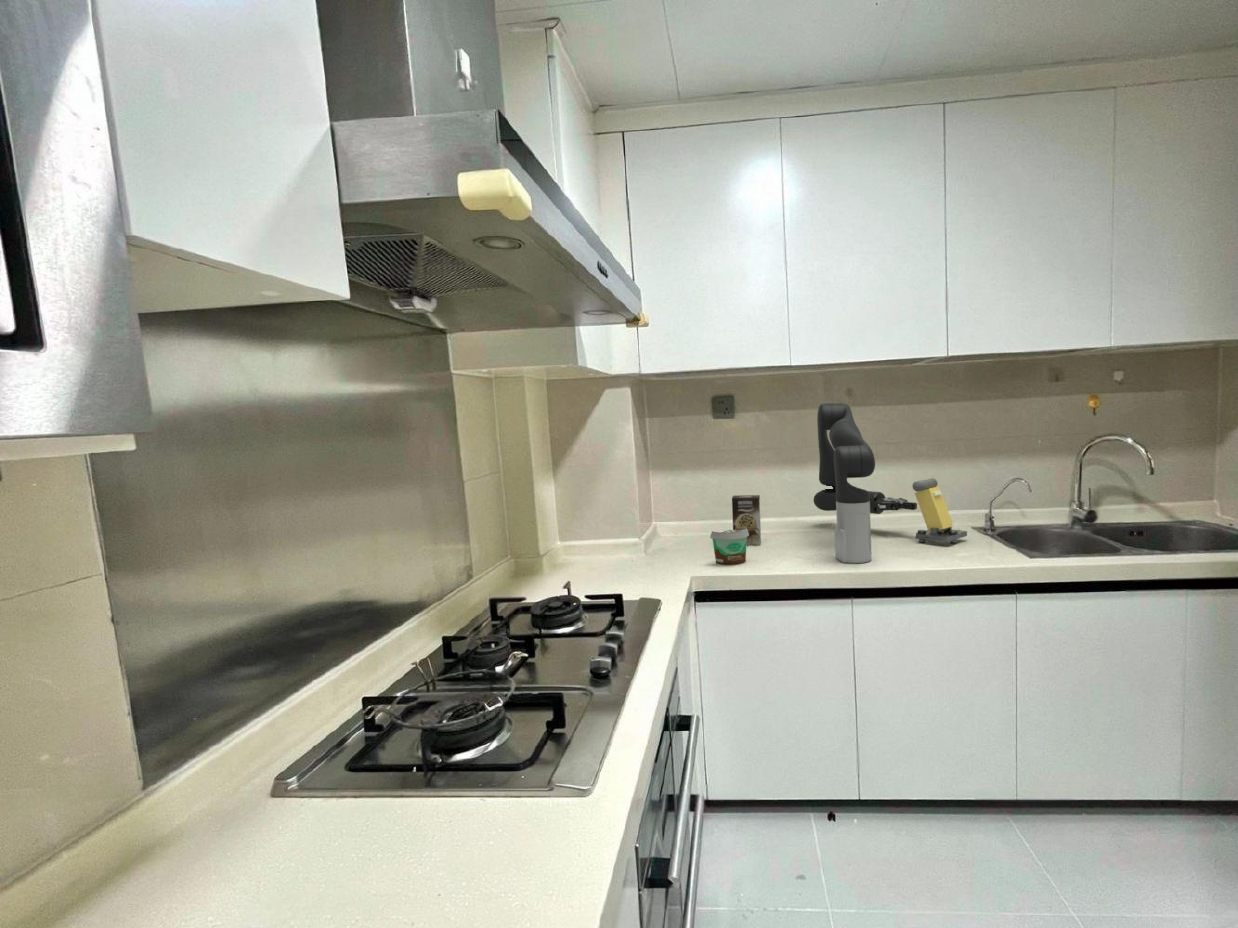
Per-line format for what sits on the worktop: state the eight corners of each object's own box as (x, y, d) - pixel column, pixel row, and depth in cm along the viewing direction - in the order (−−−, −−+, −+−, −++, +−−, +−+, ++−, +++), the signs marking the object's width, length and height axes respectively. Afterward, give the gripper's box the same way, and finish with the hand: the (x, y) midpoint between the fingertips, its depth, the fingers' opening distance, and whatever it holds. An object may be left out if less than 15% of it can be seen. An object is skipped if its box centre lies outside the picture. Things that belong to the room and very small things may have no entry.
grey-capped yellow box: (943, 531, 203) (924, 478, 206) (927, 535, 207) (908, 483, 210) (958, 526, 208) (939, 475, 211) (942, 530, 212) (923, 480, 216)
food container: (722, 568, 193) (720, 534, 192) (711, 564, 198) (710, 531, 197) (758, 562, 197) (756, 529, 196) (746, 558, 203) (745, 526, 202)
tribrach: (947, 547, 201) (946, 531, 200) (915, 542, 209) (915, 527, 208) (967, 540, 208) (966, 524, 207) (936, 536, 216) (935, 521, 215)
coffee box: (733, 545, 221) (730, 497, 219) (734, 541, 227) (732, 495, 225) (761, 545, 218) (759, 497, 217) (761, 541, 225) (759, 494, 223)
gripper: (856, 493, 224) (904, 497, 210) (878, 488, 231) (926, 492, 217) (856, 515, 224) (904, 521, 210) (879, 510, 232) (927, 514, 218)
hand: (915, 506), depth 214 cm, fingers closed
